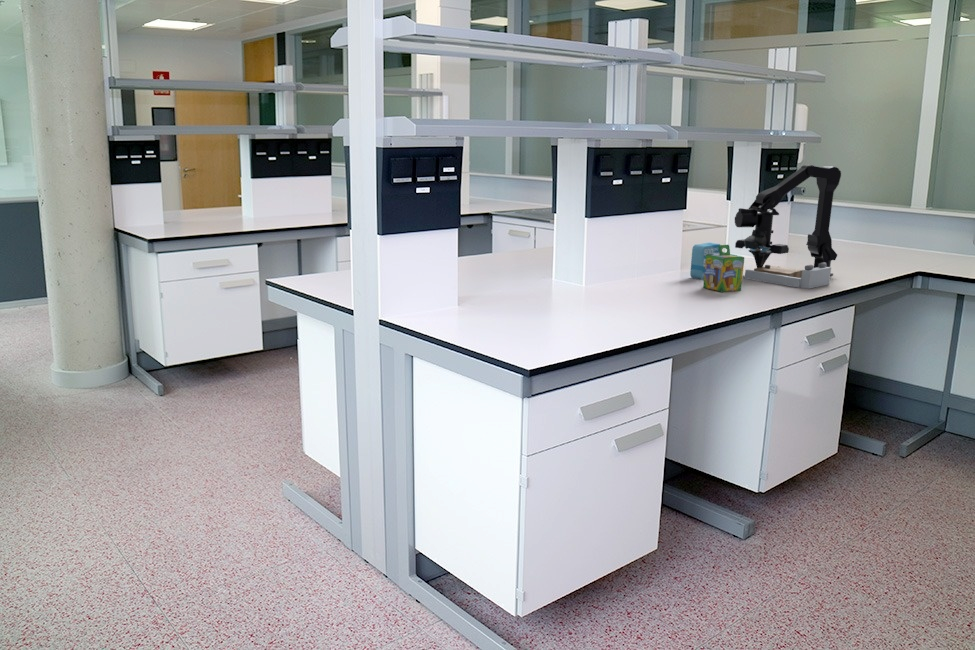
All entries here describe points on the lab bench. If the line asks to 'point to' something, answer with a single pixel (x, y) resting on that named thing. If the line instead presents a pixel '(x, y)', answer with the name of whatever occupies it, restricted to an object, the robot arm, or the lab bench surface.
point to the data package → (701, 258)
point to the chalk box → (723, 271)
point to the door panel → (780, 271)
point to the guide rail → (773, 278)
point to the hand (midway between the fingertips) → (759, 269)
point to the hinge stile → (815, 276)
